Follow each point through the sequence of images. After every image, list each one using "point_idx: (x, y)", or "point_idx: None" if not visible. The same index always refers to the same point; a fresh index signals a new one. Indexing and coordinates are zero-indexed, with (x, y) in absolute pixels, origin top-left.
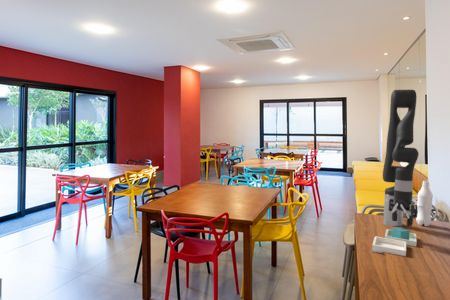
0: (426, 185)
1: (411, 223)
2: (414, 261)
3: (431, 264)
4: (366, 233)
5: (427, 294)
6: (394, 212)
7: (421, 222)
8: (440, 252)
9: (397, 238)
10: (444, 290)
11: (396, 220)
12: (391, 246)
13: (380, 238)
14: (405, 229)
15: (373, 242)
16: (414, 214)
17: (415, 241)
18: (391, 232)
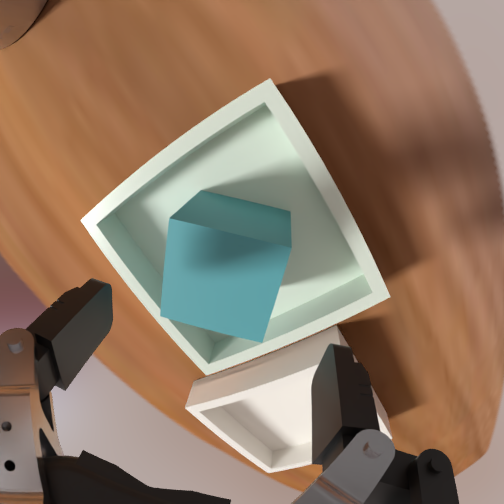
0: None
1: (359, 387)
2: (419, 408)
3: (470, 378)
4: None
5: (460, 472)
6: (47, 387)
7: None
8: (485, 201)
9: (272, 349)
10: (488, 445)
11: (107, 291)
12: (290, 390)
13: (216, 404)
14: (242, 248)
15: (251, 459)
16: (416, 499)
17: (382, 297)
18: (121, 204)
